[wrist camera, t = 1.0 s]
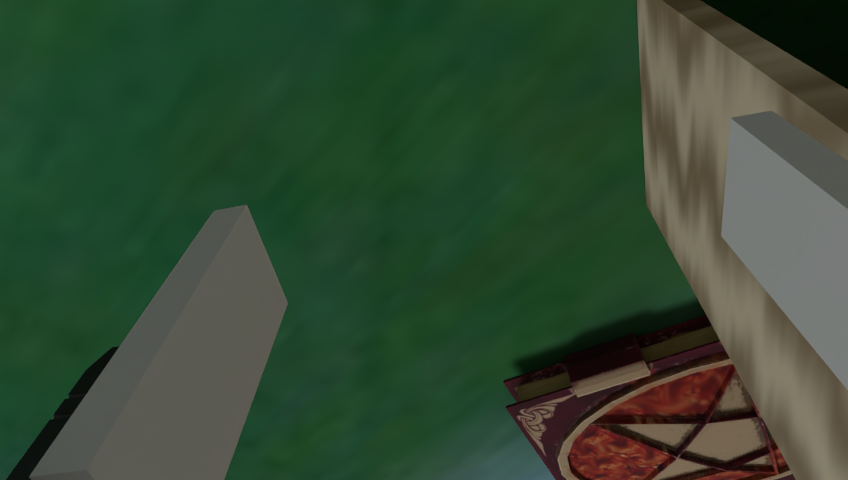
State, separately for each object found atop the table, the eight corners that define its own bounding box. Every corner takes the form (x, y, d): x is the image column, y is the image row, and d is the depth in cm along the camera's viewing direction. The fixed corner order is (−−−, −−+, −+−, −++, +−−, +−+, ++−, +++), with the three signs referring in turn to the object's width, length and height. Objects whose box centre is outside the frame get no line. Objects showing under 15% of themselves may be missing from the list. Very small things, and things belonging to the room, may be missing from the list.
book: (585, 500, 58) (595, 549, 54) (498, 370, 48) (502, 420, 44) (899, 422, 49) (940, 475, 45) (874, 245, 39) (923, 291, 35)
